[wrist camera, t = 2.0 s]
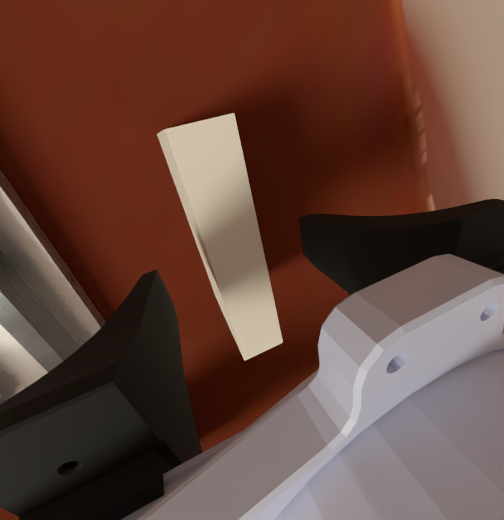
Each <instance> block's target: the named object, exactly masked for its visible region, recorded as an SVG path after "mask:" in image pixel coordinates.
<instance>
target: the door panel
mask: <svg viewBox="0 0 504 520" xmlns="http://www.w3.org/2000/svg"><path fill="white" fill-rule="evenodd" d="M157 136H158V138H159V141H160V144H161V147H162V150H163V152H164V155H165V158H166V161H167V163H168V166H169V169H170V172H171V174H172V177H173V180H174V183H175V185H176V188H177V191H178V194H179V197H180V199H181V202H182V205H183V208H184V210H185V213H186V216H187V219H188V221H189V224H190V227H191V230H192V233H193V235H194V238H195V241H196V244H197V246H198V249H199V252H200V255H201V257H202V260H203V263H204V266H205V269H206V271H207V274H208V277H209V280H210V282H211V285H212V288H213V291H214V293H215V296H216V299H217V301H218V303H219V305H220V308H221V310H222V312H223V314H224V316H225V319H226V321H227V323H228V325H229V328H230V330H231V332H232V334H233V337H234V339H235V341H236V343H237V345H238V348H239V350H240V352H241V354H242V357H243V359H244V361H246V360H248V359H250V358H252V357H254V356H256V355H258V354H260V353H262V352H264V351H266V350H269V349H271V348H273V347H275V346H277V345H279V344H281V343H283V340H282V335H281V331H280V326H279V321H278V316H277V312H276V307H275V302H274V298H273V293H272V288H271V283H270V279H269V274H268V269H267V265H266V260H265V255H264V250H263V246H262V241H261V236H260V231H259V227H258V222H257V217H256V213H255V208H254V203H253V198H252V194H251V189H250V184H249V180H248V175H247V170H246V165H245V161H244V156H243V151H242V147H241V142H240V137H239V132H238V128H237V123H236V118H235V114H234V113H231V114H227V115H223V116H219V117H214V118H210V119H206V120H202V121H198V122H193V123H189V124H185V125H181V126H177V127H172V128H168V129H165V130H163V131H161V132H159V133H158V134H157Z"/></svg>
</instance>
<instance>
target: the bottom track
mask: <svg viewBox="0 0 504 520" xmlns="http://www.w3.org/2000/svg"><path fill="white" fill-rule="evenodd" d="M105 323H106V322H105V320H104V319H103V317H102V316H101V315H100V313H99V312H98V310H97V309H96V307H95V306H94V304H93V303H92V302H91V300H90V299H89V297H88V296H87V294H86V293H85V291H84V290H83V288H82V287H81V286H80V284H79V283H78V281H77V280H76V278H75V277H74V275H73V274H72V273H71V271H70V270H69V268H68V267H67V265H66V264H65V262H64V261H63V260H62V258H61V257H60V255H59V254H58V252H57V251H56V249H55V248H54V247H53V245H52V244H51V242H50V241H49V239H48V238H47V236H46V235H45V233H44V232H43V231H42V229H41V228H40V226H39V225H38V223H37V222H36V220H35V219H34V218H33V216H32V215H31V213H30V212H29V210H28V209H27V207H26V206H25V205H24V203H23V202H22V200H21V199H20V197H19V196H18V194H17V193H16V192H15V190H14V189H13V187H12V186H11V184H10V183H9V181H8V180H7V178H6V177H5V176H4V174H3V173H2V171H1V170H0V404H2V403H3V402H5V401H6V400H8V399H10V398H11V397H13V396H14V395H16V394H17V393H19V392H20V391H22V390H23V389H25V388H26V387H28V386H29V385H31V384H32V383H34V382H35V381H37V380H38V379H40V378H41V377H43V376H44V375H45V374H47V373H48V372H49V371H51V370H52V369H54V368H55V367H56V366H58V365H59V364H60V363H61V362H63V361H64V360H65V359H67V358H68V357H69V356H70V355H72V354H73V353H74V352H75V351H76V350H78V349H79V348H80V347H81V346H82V345H83V344H84V343H85V342H87V341H88V340H89V339H90V338H91V337H92V336H93V335H94V334H95V333H96V332H98V330H99V329H100V328H101V327H102V326H103V325H104V324H105Z"/></svg>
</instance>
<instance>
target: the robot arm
mask: <svg viewBox="0 0 504 520" xmlns="http://www.w3.org/2000/svg"><path fill="white" fill-rule="evenodd" d="M299 224H300V232H301V241H302V249H303V254H304V255H305V256H306V257H307V258H308V260H309V261H310V262H311V263H312V264H313V265H314V266H315V267H317V268H318V269H319V270H320V271H321V272H323V273H324V274H325V275H326V276H328V277H329V278H330V279H332V280H333V281H334V282H335V283H337V284H338V285H339V286H341V287H342V288H343V289H344V290H346V291H347V292H348V293H349V294H350V296H349V297H347V298H346V299H344V300H343V301H342V302H340V303H339V304H337V305H336V306H335V307H334V308H333V309H332V311H331V312H330V314H329V315H328V317H327V318H326V319H325V321H324V322H323V324H322V327H321V332H320V337H319V342H318V352H319V361H320V365H319V369H318V370H317V371H316V372H314V373H313V374H312V375H311V376H309V377H308V378H307V379H306V380H305V381H303V382H302V383H301V384H300V385H298V386H297V387H296V388H295V389H294V390H292V391H291V392H290V393H289V394H287V395H286V396H285V397H284V398H283V399H281V400H280V401H279V402H278V403H276V404H275V405H274V406H273V407H272V408H270V409H269V410H268V411H267V412H265V413H264V414H263V415H262V416H261V417H259V418H258V419H257V420H256V421H254V422H253V423H252V424H251V425H250V426H248V427H247V428H246V429H245V430H243V431H241V432H239V433H238V434H236V435H234V436H232V437H230V438H228V439H227V440H225V441H223V442H221V443H219V444H217V445H216V446H214V447H212V448H210V449H208V450H206V451H205V452H203V453H202V449H201V445H200V441H199V437H198V433H197V429H196V425H195V421H194V417H193V412H192V408H191V404H190V399H189V395H188V391H187V386H186V381H185V377H184V372H183V365H182V356H181V345H180V335H179V325H178V319H177V315H176V311H175V308H174V304H173V302H172V300H171V298H170V296H169V294H168V292H167V290H166V287H165V285H164V283H163V281H162V279H161V277H160V275H159V273H158V271H157V270H154V271H151V272H149V273H146V274H143V275H142V276H141V278H140V279H139V280H138V282H137V283H136V285H135V286H134V288H133V289H132V291H131V292H130V293H129V295H128V296H127V298H126V299H125V300H124V302H123V303H122V304H121V306H120V307H119V308H118V309H117V311H116V312H115V313H114V314H113V316H112V317H111V318H110V319H109V320H108V321H107V322H106V323H105V324H104V325H103V326H102V327H101V328H100V329H99V330H98V332H96V333H95V334H94V335H93V336H92V337H91V338H90V339H89V340H88V341H87V342H85V343H84V344H83V345H82V346H81V347H80V348H79V349H78V350H76V351H75V352H74V353H73V354H72V355H70V356H69V357H68V358H67V359H65V360H64V361H63V362H61V363H60V364H59V365H58V366H56V367H55V368H54V369H52V370H51V371H49V372H48V373H47V374H45V375H44V376H43V377H41V378H40V379H38V380H37V381H35V382H34V383H32V384H31V385H29V386H28V387H26V388H25V389H23V390H22V391H20V392H19V393H17V394H16V395H14V396H13V397H11V398H10V399H8V400H6V401H5V402H3V403H2V404H0V507H1V508H3V509H5V510H7V511H9V512H11V513H13V514H15V515H17V516H19V517H20V518H19V520H504V200H499V199H489V200H483V201H479V202H475V203H470V204H466V205H462V206H458V207H453V208H447V209H442V210H436V211H430V212H423V213H415V214H406V215H394V216H348V215H332V214H309V215H307V216H304V217H301V218H299Z"/></svg>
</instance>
